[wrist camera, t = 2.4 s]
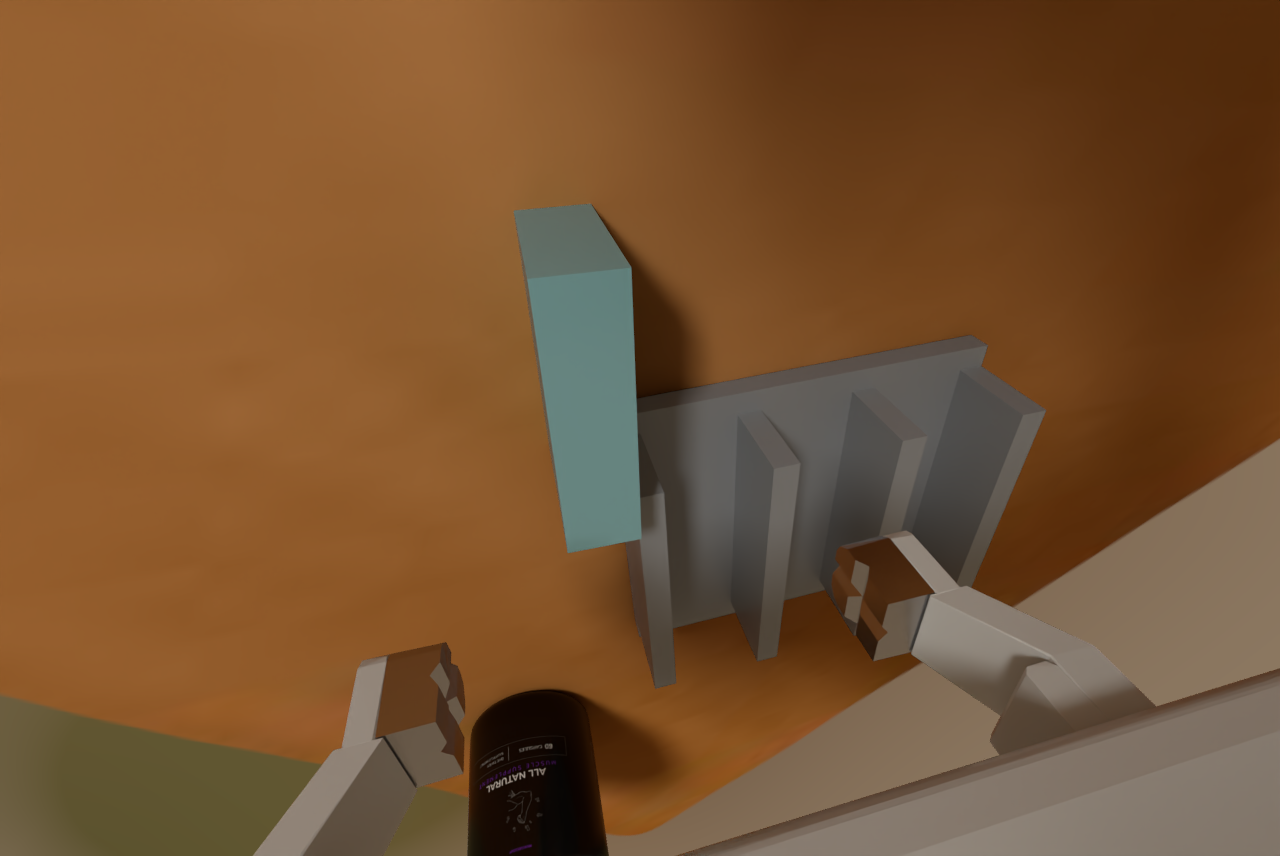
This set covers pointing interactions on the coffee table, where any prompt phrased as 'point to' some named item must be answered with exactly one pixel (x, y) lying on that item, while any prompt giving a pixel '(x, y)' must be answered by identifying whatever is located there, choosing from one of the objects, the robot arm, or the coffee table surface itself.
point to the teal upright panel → (584, 369)
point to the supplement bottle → (534, 780)
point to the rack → (816, 482)
